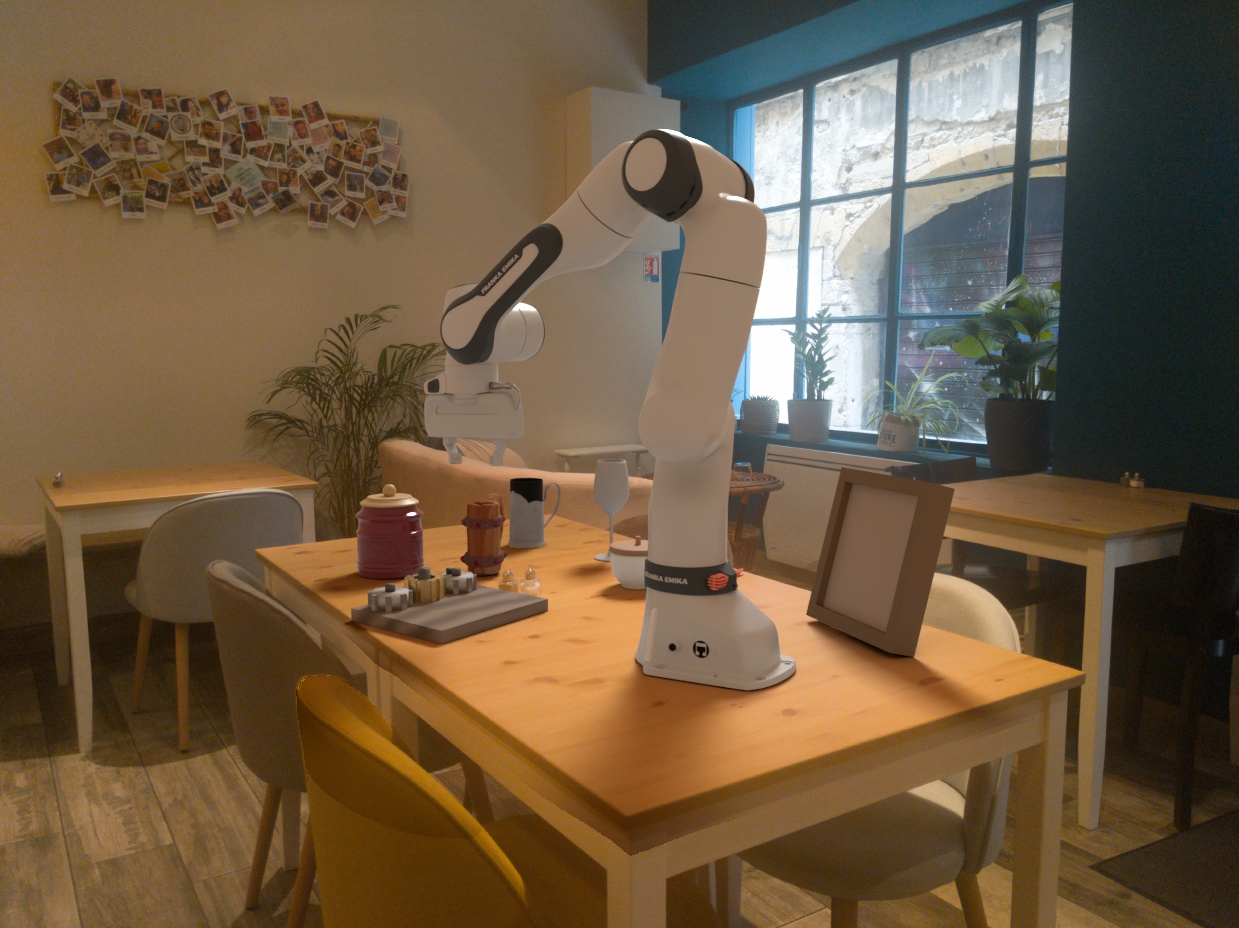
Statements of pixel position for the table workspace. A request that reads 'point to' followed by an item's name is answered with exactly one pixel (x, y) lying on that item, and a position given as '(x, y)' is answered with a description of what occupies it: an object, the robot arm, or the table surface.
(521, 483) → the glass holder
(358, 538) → the canister
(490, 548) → the mug
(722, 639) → the robot arm
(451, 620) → the gear board
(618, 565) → the lidded jar
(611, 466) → the wineglass
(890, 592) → the photo frame
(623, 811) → the table surface
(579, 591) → the table surface
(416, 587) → the brass gear
